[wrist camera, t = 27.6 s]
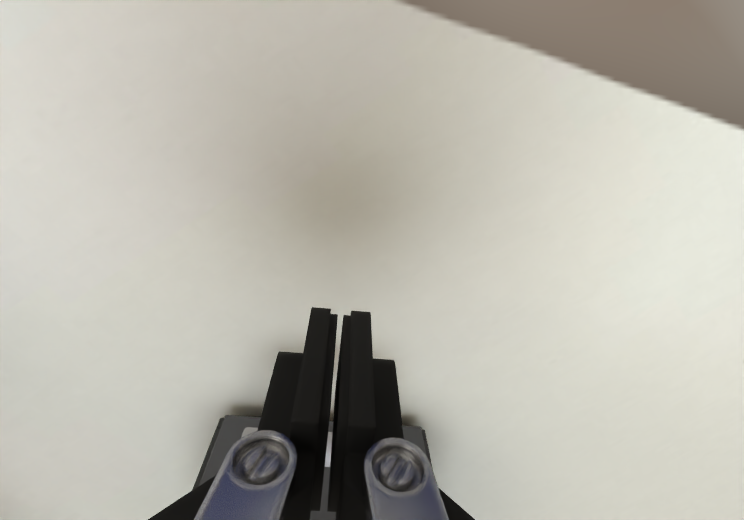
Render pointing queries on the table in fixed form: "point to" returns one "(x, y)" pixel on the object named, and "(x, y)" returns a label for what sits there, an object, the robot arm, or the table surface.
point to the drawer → (245, 425)
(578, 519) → the table surface
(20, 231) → the table surface
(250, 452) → the robot arm
